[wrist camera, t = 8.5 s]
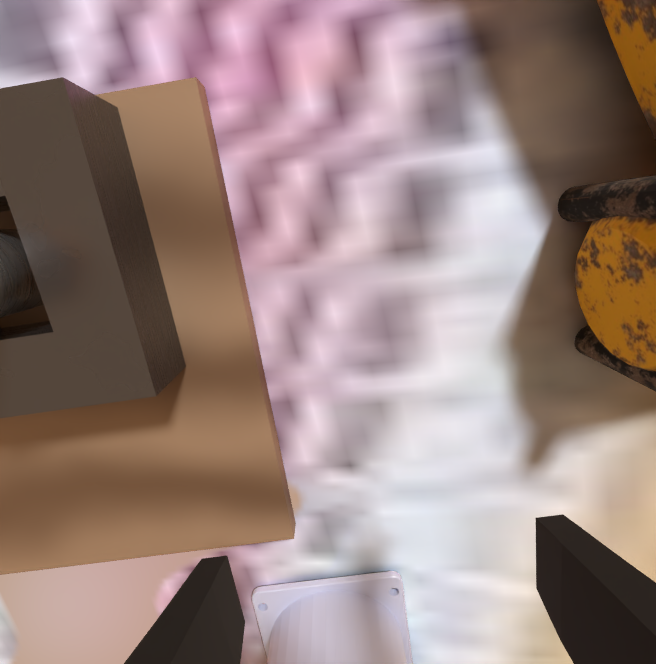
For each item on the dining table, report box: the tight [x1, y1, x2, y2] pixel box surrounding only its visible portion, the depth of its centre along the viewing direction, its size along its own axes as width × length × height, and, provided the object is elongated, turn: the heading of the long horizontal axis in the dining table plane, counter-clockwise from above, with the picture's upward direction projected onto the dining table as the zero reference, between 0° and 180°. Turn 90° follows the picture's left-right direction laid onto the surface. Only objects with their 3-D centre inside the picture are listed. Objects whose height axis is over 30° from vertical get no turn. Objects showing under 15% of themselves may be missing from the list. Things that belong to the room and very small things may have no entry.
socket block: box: [0, 78, 186, 418], centre depth 14 cm, size 10×10×3 cm
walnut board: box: [0, 77, 296, 575], centre depth 17 cm, size 20×16×1 cm
